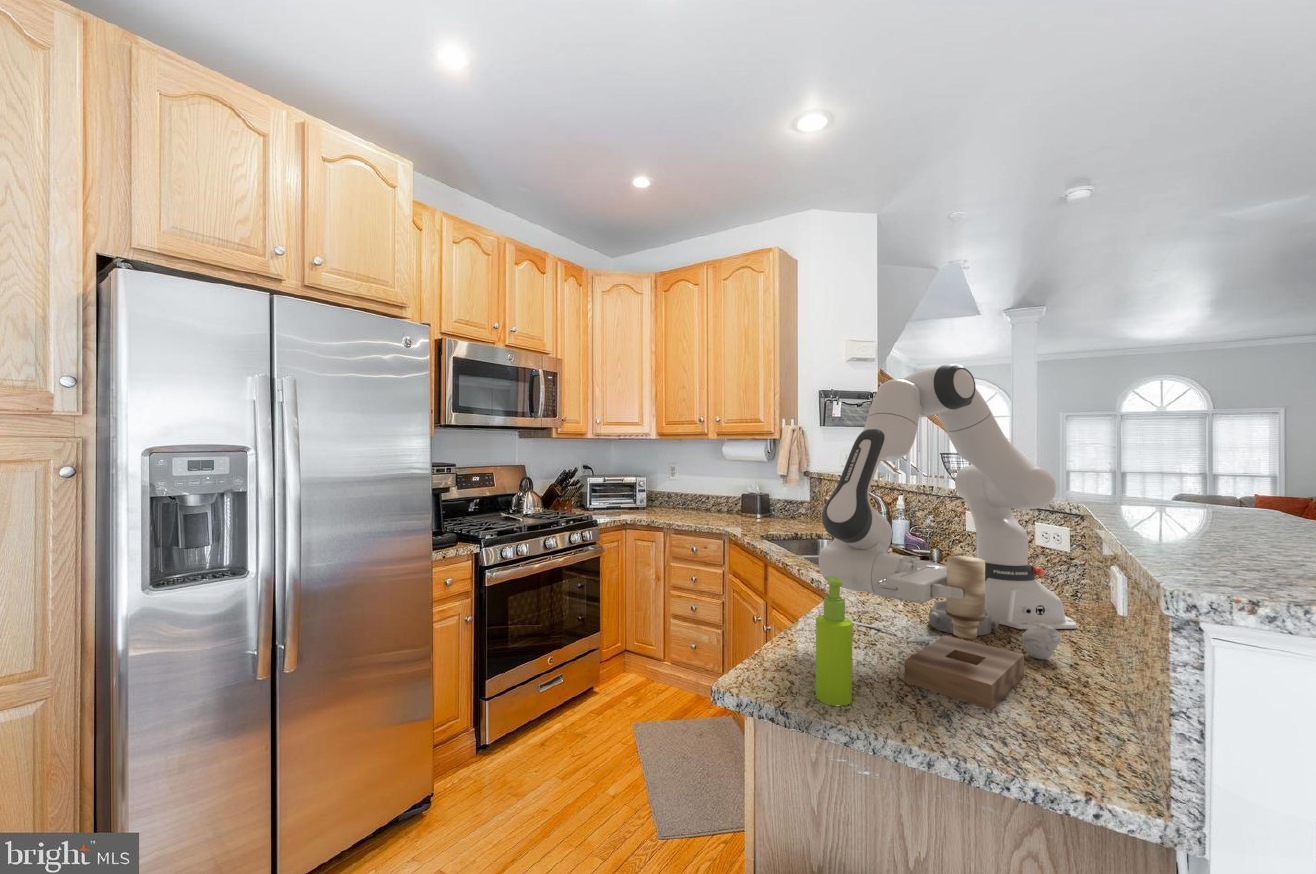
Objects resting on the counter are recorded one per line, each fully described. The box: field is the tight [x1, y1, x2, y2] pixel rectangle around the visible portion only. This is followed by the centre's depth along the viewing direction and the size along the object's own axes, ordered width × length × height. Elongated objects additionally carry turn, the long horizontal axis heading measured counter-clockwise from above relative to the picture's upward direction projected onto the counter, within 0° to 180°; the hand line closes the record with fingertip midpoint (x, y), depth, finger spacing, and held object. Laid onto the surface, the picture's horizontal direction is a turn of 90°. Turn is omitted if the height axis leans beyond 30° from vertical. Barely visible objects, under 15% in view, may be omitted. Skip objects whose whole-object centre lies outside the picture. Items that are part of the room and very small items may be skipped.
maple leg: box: [945, 555, 985, 640], centre depth 102 cm, size 6×6×14 cm
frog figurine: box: [1021, 623, 1061, 660], centre depth 112 cm, size 6×7×7 cm
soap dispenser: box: [814, 576, 854, 706], centre depth 94 cm, size 6×7×20 cm
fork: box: [851, 620, 936, 643], centre depth 128 cm, size 3×24×2 cm, turn 37°
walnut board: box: [904, 634, 1025, 710], centre depth 102 cm, size 20×14×4 cm
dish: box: [928, 600, 1000, 637], centre depth 131 cm, size 14×14×5 cm
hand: (970, 590), depth 101 cm, fingers closed on maple leg, 6 cm apart
